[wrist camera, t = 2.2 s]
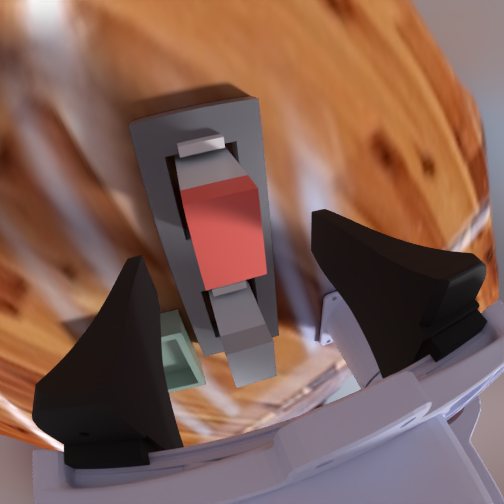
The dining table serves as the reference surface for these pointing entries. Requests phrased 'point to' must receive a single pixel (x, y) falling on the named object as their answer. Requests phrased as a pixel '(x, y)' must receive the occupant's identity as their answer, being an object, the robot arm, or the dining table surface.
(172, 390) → the tray
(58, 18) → the dining table surface
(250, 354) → the block
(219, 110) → the fuse holder
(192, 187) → the block
